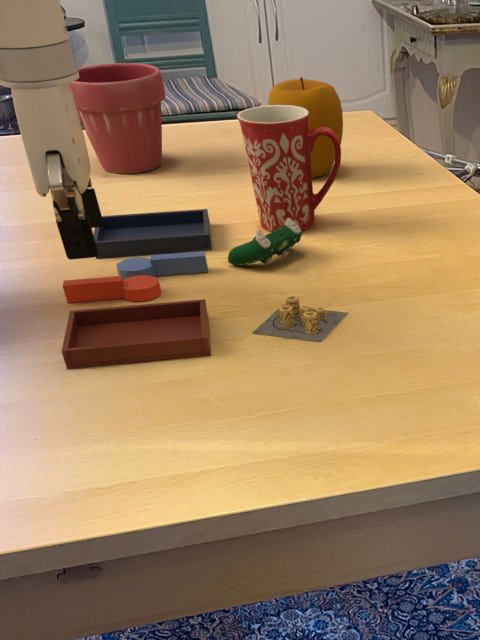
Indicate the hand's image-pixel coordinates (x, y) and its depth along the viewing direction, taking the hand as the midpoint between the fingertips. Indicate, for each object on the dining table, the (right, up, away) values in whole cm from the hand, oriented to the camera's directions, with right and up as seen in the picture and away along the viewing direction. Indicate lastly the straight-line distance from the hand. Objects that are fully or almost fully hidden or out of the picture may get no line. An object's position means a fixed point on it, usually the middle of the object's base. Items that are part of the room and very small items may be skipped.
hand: (86, 241), depth 104 cm
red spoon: (+2, -4, +5) cm, 6 cm away
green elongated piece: (+17, +3, +14) cm, 22 cm away
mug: (+19, +12, +23) cm, 32 cm away
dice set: (+24, -9, 0) cm, 26 cm away
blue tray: (+1, +8, +18) cm, 20 cm away
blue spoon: (+5, 0, +10) cm, 11 cm away
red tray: (+8, -12, -4) cm, 15 cm away
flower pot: (-11, +30, +43) cm, 53 cm away
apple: (+18, +28, +41) cm, 52 cm away
